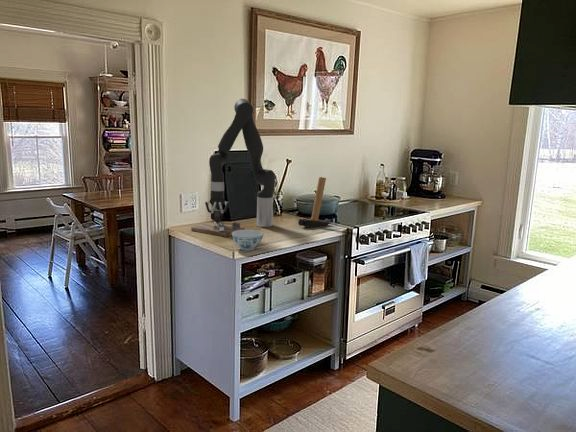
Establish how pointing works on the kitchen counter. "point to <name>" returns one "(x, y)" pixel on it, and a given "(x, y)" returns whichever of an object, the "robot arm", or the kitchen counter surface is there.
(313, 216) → the hammer
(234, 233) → the chinaware
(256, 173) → the robot arm
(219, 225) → the lever
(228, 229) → the press base
